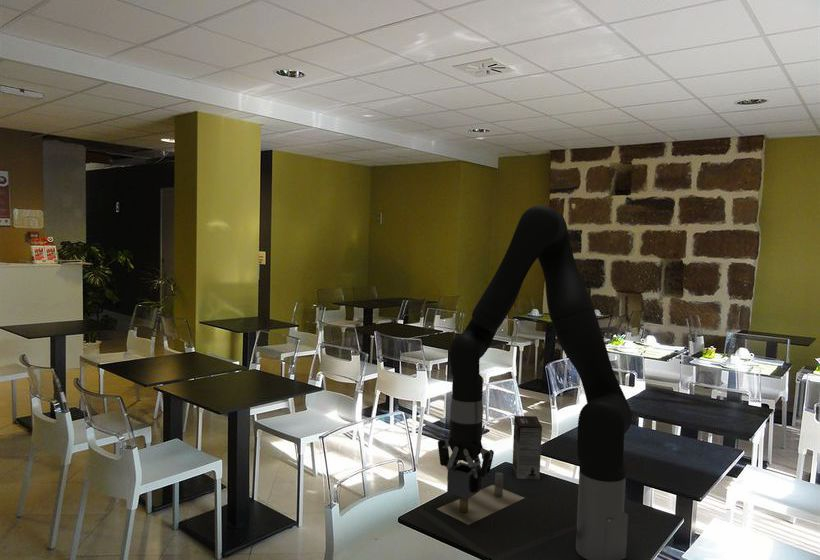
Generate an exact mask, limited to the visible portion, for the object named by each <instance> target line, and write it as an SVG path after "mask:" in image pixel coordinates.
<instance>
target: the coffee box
mask: <svg viewBox="0 0 820 560" xmlns="http://www.w3.org/2000/svg"><path fill="white" fill-rule="evenodd" d="M542 433H543V426H542V423H540V421H539V419H538V417H537V416H536V415H514V417H513V439H512V440H513V443H512V445H513V446H512V469H513V471H514V474H515V477H516V479H518V480H519V479H521V480H541V479H540V477H541V458H542V456H541V455H542V437H543V435H542Z"/></svg>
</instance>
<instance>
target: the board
mask: <svg viewBox="0 0 820 560" xmlns="http://www.w3.org/2000/svg"><path fill="white" fill-rule="evenodd" d="M523 499H525V497H524V496H521V495H520V494H519V495H518V494H517V493H514V492H511V491H510V490H506V489H504V473H503V472H495V473H494V484H491V485H489V486H486V487H484V488H481V489H480V491H479V492H478V493H476V494H475V495H473V496H472V497H471V498H469V499H466V498H463V497H460V496H459V499H456V500H454V501H452V502H449V503H447V504H445V505H442V506H440V507H438V508H436V510H438V511H439V512H441V513H443V514H445V515H448V516H449V517H452V518H454V519H455V520H457V521H460V522H461V523H464V524H466V525H472V524H474V523H475V522H477V521H479V520H482V519H484V518H486V517H488V516H490V515H492V514H494V513H496V512H499V511H500V510H503V509H504V508H507V507H509V506H512V505H513V504H516V503H517V502H519V501H522V500H523Z"/></svg>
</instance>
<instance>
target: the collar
mask: <svg viewBox="0 0 820 560" xmlns="http://www.w3.org/2000/svg"><path fill="white" fill-rule="evenodd" d="M447 475H448V481H447V485H446V487H447V489H446V492H447V493H448V494H451V495H455V496H458V497H459V498H460V497H463V498H466V499H469V498H471V497H472V496H473V495H475V494H476V493H472V481H473V473H472V471H471V469H470V468H469V465H468V463H466V462H465V463H464V462H462V461H461V462H458V463H457V464H456V465H455V466H453V467H451V468H449V469H448V470H447ZM480 490H481V489H480ZM480 490H479V491H480ZM479 491H478V492H479ZM478 492H477V493H478Z"/></svg>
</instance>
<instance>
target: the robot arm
mask: <svg viewBox="0 0 820 560" xmlns="http://www.w3.org/2000/svg"><path fill="white" fill-rule="evenodd" d="M569 235H570V234H569V230H568V225H567V222H566V219H565V218H564V216H563V215H562V214H561V212H559V211H557V210H556V209H554V208H552V207H550V206H547V205H534V206H532V207H529V208H528V209H526V210H524V212H523V213H522V215H521V216H520V218H519V221H518V223H517V225H516V228H515V230H514V232H513V235H512V238H511V240H510V243H509V245H508V248H507V250H506V253H505V254H504V257H503V258H502V259H501V260H502V261H501V263H500V264H499V266H498V268H497V270H496V272H495V274H494V275H493V277H492V278H491V280H490V282H489V284H488V285H487V287H486V288H485V289H484V292H483V293H482V295H481V296H480V298H479V300H478V302H477V303H476V305H475V307H474V308H473V310H472V312H471V319H470V320H469V322H468V324H467V326H466V327H465V329H464V330H463V332H462V333H460V334H458V335H456V336H455V337H454V338H453V340H451V344H450V347H449V363H450V369H451V370H450V371H451V376H452V384H451V400H450V401H451V402H450V410H449V438H448V439H447V438H446V437H444V438H441V439H439V440H438V441H437V446H438V447H437V449H438V457H439V464H440V465H441V466H442V467H443V466H444V467H445V468H446V470H447V471H448V469H449V468H451V467H453V466H455V465H456V464H458V463H459V461H463V462H465V463H466V464H468V465H469V468H470V469H471V471H472V473H473V481H472V493H477V492H478V491H479V490H482V478H485V477H486V476H488V475H489V474H490V472H491V467H492V464H493V460H494V455H495V452H494V449H493V450H492V449H490V450H488V449H485V448H484V447H483V444H482V440H483V438H482V437H483V421H484V420H483V418H484V404H483V393H484V391H483V390H484V388H483V387H484V382H483V381H484V379H483V377H482V375H481V374H480V361H481V358H482V357H483V356H485V354H486V352H487V351H488V349H489V347H490V346H491V344H492V342H493V340H494V338H495V336H496V334H497V331H498V329H499V328H500V326H501V325H502V324H503V323H504V321H505V319H506V318H507V316H508V314H509V313H510V311H511V309H512V308H513V306H514V305H515V302H516V300H517V299H518V297H519V294H520V291H521V288H522V286H523V284H524V281H525V279H526V277H527V275H528V272H529V271H530V270H531V267H532V266H533V265H534V263H535V262H536V260H538V262H539V264H540V267H541V271H542V273H543V277H544V283H545V296H546V303H547V304H546V305H547V310H548V314H549V319H550V321H551V325H552V327H553V331H554V333H555V336H556V339H557V342H558V344H559V346H560V347H561V350H562V352H563V353H564V354H565V356H566V357H567V359H569V361H570V363H571V365H572V366H573V367H574V368H575V370H576V372H577V374H578V376H579V379H580V382H581V384H582V388H583V392H584V395H585V398H586V403H585V404H584V405H583V406H582V408H581V409H580V412H579V415H578V420H577V441H576V442H577V451H576V452H577V459H578V461H579V462H578V463H579V471H578V472H579V473H578V491H577V492H578V493H577V509H576V510H577V513H576V533H575V534H576V537H575V550H576V553H577V554H578V555H579V556H580V557H581V558H583V559H586V560H624V559H626V558H627V546H628V543H627V540H628V527H629V526H628V525H629V514H628V513H627V512H625V497H626V496H625V495H626V478H627V477H626V476H627V464H626V461H625V460H624V459H625V458H624V449H625V445H624V444H625V434H626V433H628V431H629V429H630V427H631V424H632V422H633V421H632V420H633V416H632V410H631V407H630V405H629V403H628V401H627V399H626V396H625V394H624V392H623V389H622V386H621V385H620V383H619V381H618V379H617V376H616V374H615V372H614V369H613V365H612V363H611V360H610V357H609V353H608V350H607V346H606V343H605V339H604V337H603V334H602V330H601V327H600V324H599V323H600V322H599V319H598V317H597V314H596V311H595V308H594V306H593V303H592V301H591V297H590V295H589V292H588V290H587V288H586V285H585V283H584V281H583V277H582V276H581V273H580V272H579V269H578V266H577V264H576V260H575V257H574V251H573V248H572V244H571V240H570V239H571V238H570V236H569ZM449 448H450V450H451V454H450V453H449V452H450V451H449ZM480 454H481V459H482V462H481V459H480ZM446 476H447V477H446V478H447V480H446V481H447V482H448V474H447V475H446Z"/></svg>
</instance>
